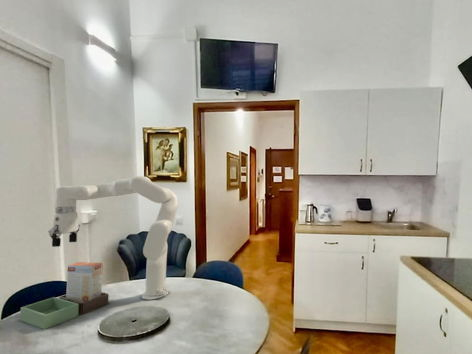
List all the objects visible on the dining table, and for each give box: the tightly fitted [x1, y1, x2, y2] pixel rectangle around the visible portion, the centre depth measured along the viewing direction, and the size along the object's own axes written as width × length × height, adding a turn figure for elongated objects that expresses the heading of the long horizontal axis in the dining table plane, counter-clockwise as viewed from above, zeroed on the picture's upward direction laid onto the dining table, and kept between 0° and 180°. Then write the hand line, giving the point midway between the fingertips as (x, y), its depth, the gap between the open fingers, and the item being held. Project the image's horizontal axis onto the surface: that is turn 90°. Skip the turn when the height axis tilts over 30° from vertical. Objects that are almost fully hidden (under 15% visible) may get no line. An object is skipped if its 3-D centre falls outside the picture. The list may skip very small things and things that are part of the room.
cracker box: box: [65, 261, 104, 303], centre depth 126 cm, size 14×6×21 cm, turn 84°
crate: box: [58, 291, 110, 315], centre depth 126 cm, size 20×12×5 cm, turn 70°
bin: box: [19, 296, 79, 330], centre depth 114 cm, size 20×12×6 cm, turn 70°
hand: (64, 244), depth 126 cm, fingers open, 9 cm apart
